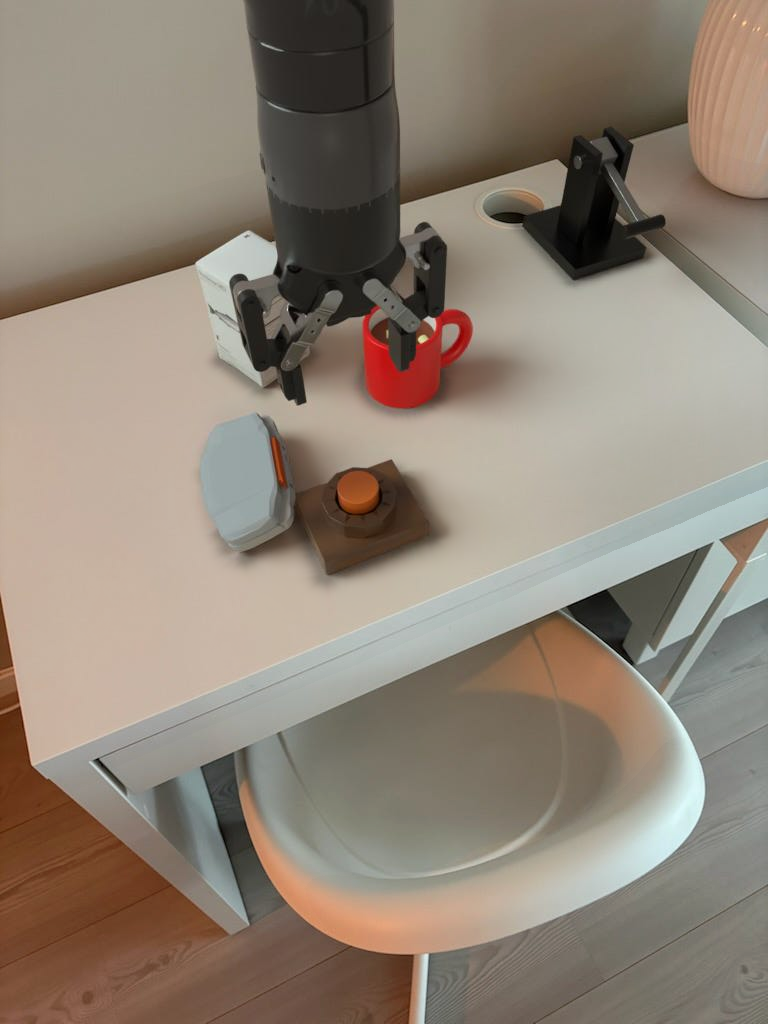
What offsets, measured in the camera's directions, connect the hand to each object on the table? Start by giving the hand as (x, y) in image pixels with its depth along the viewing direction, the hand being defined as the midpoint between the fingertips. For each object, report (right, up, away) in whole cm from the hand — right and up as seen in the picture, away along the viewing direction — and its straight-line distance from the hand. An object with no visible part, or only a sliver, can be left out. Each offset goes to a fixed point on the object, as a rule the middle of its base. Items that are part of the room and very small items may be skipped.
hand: (349, 380), depth 55 cm
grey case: (-14, -8, +16) cm, 22 cm away
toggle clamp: (+27, +24, +39) cm, 53 cm away
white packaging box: (-10, +7, +28) cm, 31 cm away
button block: (0, -11, +15) cm, 18 cm away
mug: (+6, +5, +26) cm, 27 cm away
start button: (0, -8, +12) cm, 14 cm away
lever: (+28, +26, +30) cm, 48 cm away
